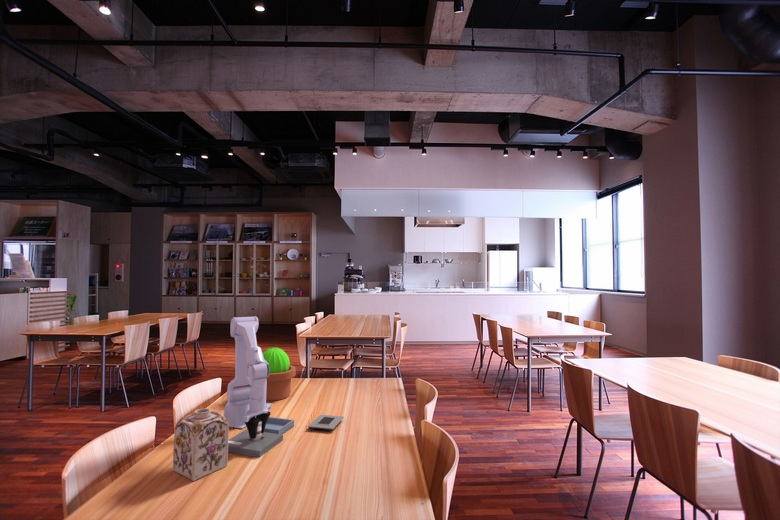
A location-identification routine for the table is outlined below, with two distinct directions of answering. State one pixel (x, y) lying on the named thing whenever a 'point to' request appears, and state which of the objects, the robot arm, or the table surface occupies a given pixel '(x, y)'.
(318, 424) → the electrical outlet
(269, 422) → the tray
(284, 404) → the table surface
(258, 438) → the white light bulb
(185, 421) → the decorative jar
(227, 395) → the robot arm
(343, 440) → the table surface
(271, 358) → the potted cactus
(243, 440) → the light bulb socket board
